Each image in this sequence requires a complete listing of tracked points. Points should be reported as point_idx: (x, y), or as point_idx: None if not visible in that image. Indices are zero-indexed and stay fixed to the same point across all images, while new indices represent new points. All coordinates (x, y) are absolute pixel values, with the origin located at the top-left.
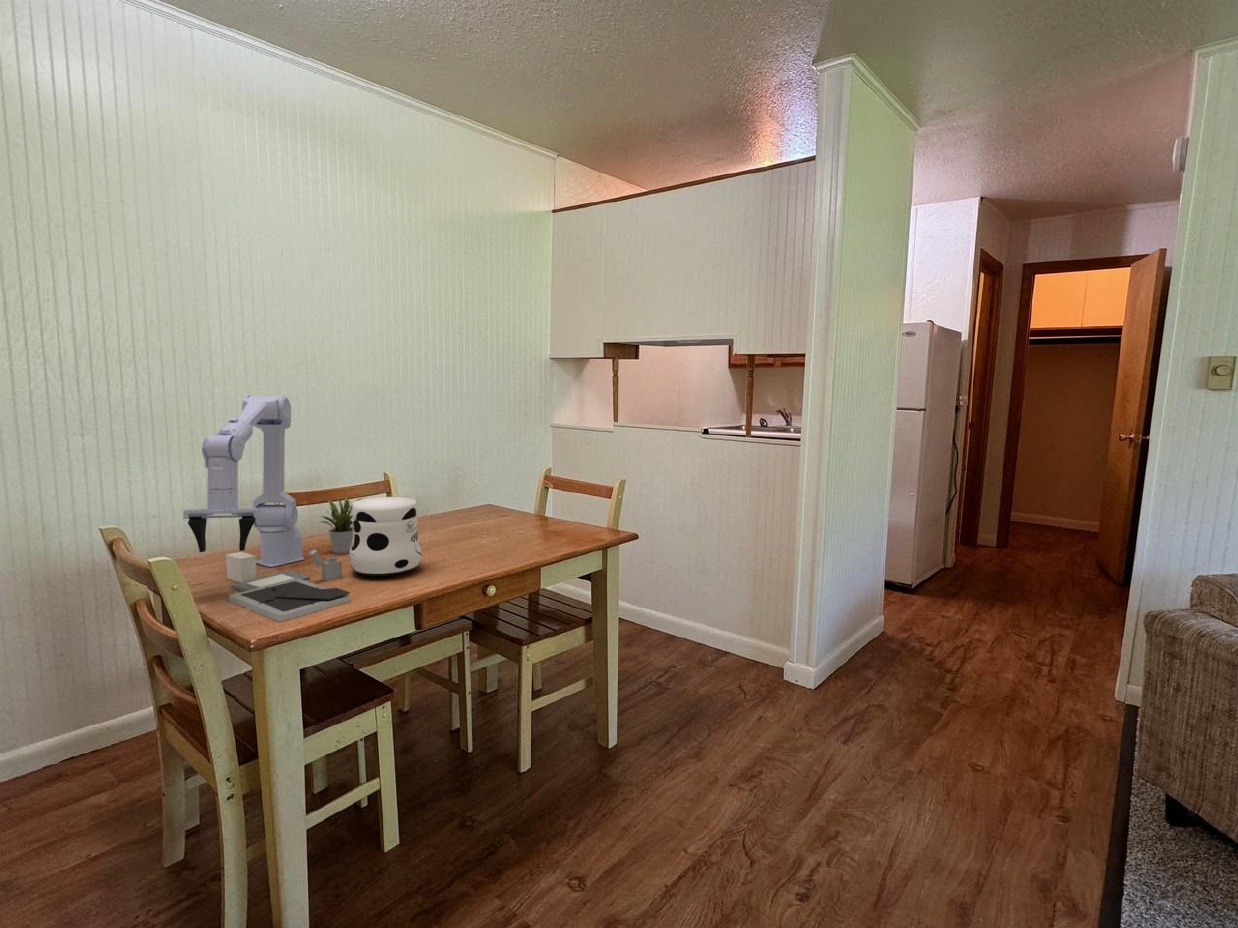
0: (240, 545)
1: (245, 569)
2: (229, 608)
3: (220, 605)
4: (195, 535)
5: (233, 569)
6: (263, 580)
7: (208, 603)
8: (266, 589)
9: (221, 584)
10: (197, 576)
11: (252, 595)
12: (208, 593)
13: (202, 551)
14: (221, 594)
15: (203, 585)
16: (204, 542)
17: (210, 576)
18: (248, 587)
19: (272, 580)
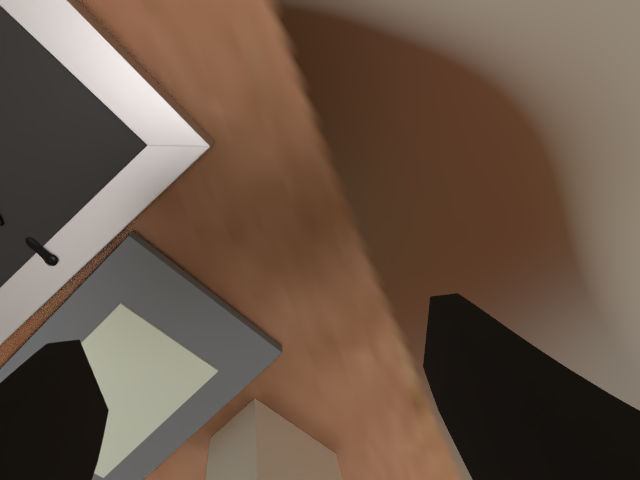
0: (30, 375)
1: (241, 458)
2: (161, 4)
3: (233, 76)
4: (633, 410)
5: (306, 471)
6: (151, 400)
7: (306, 125)
8: (28, 215)
9: (335, 387)
10: (450, 476)
11: (59, 107)
12: (352, 278)
13: (436, 297)
14: (290, 256)
15: (402, 380)
16: (465, 421)
17: (405, 476)
18: (183, 311)
19: (104, 397)
